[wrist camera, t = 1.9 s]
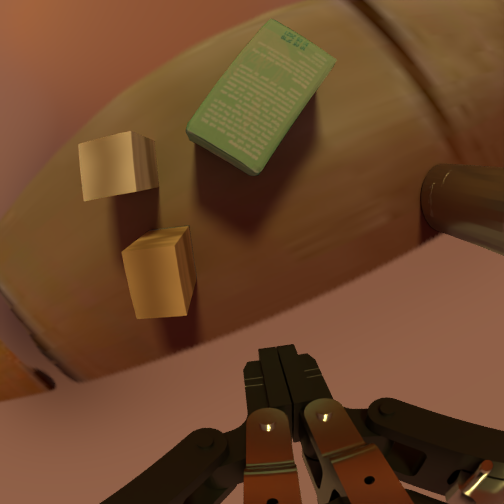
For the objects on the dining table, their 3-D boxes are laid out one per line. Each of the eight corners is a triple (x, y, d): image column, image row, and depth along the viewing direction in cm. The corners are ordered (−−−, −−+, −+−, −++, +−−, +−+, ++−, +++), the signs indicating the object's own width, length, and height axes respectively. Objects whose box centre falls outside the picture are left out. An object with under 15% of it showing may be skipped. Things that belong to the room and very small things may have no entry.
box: (191, 142, 28) (180, 132, 21) (260, 46, 26) (270, 15, 19) (250, 177, 30) (259, 178, 23) (315, 81, 27) (340, 58, 20)
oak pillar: (189, 225, 30) (174, 245, 22) (196, 278, 32) (186, 315, 23) (149, 230, 30) (121, 251, 22) (158, 281, 32) (137, 318, 23)
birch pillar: (154, 141, 28) (131, 130, 20) (159, 186, 29) (136, 191, 21) (112, 149, 27) (78, 143, 20) (116, 194, 29) (84, 201, 21)
